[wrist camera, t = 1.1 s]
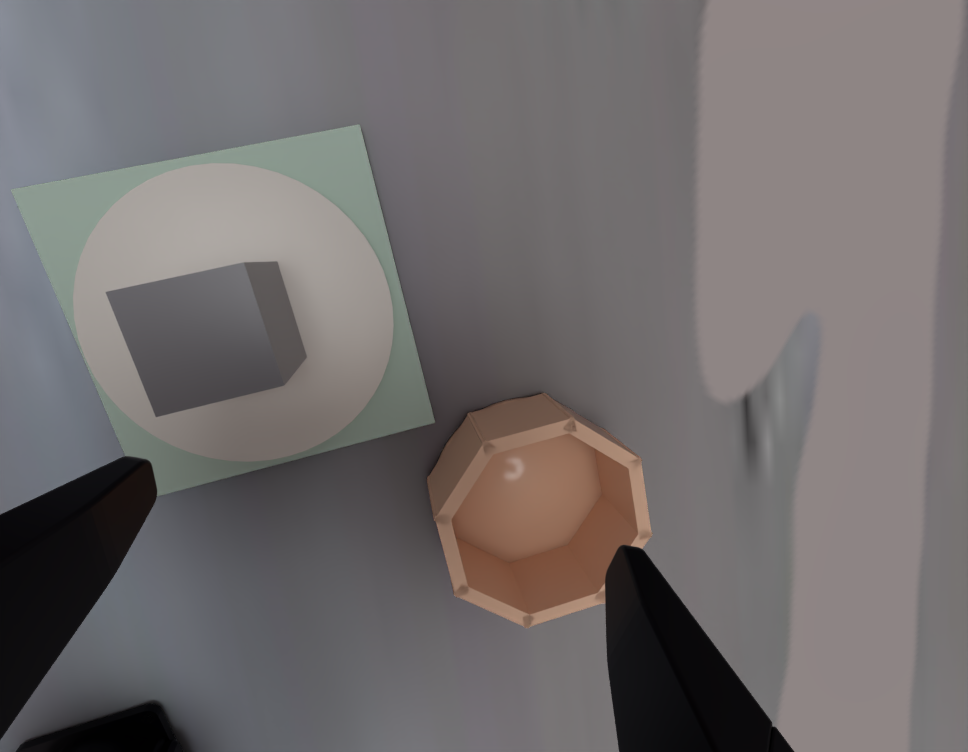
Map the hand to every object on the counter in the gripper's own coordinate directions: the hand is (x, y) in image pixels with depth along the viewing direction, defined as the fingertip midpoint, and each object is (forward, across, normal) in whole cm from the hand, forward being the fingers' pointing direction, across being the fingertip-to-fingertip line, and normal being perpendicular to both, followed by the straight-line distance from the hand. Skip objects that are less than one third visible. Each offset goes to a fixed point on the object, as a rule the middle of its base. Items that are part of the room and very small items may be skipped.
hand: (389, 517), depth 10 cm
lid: (+12, +8, +3) cm, 15 cm away
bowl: (+13, -5, +10) cm, 17 cm away
